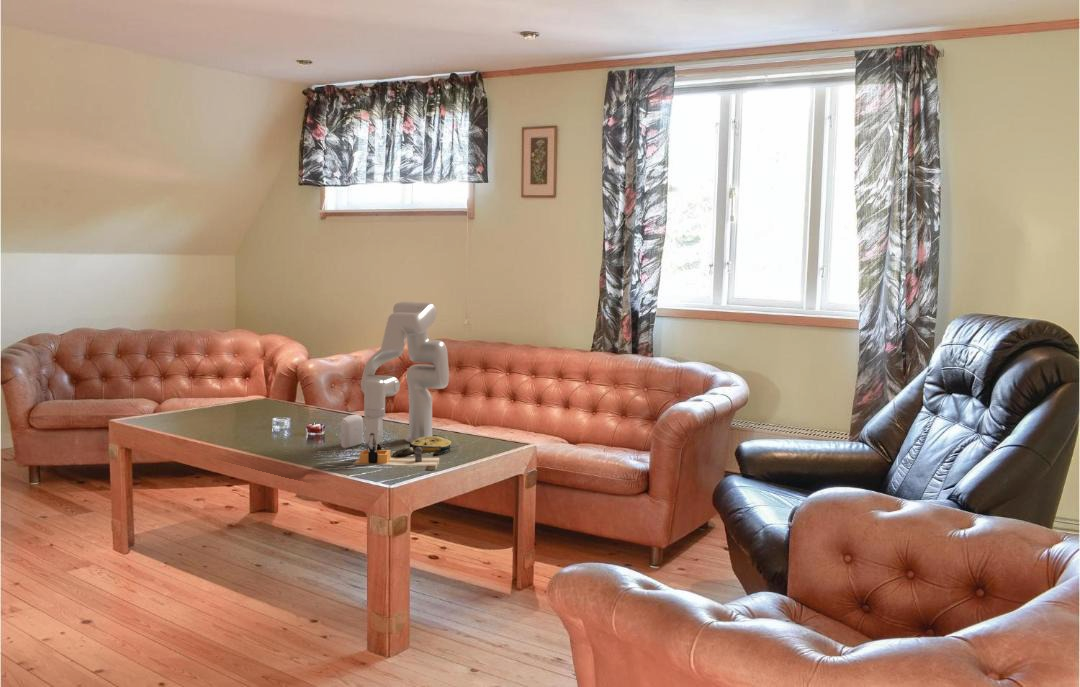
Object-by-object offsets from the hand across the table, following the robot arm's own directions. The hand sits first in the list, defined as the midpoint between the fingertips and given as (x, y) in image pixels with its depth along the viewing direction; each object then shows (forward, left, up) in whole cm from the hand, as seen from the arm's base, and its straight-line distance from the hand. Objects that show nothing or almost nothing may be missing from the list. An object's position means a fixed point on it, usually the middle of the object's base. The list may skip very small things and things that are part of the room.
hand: (375, 459), depth 325 cm
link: (0, 0, 0) cm, 0 cm away
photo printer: (-30, -15, -2) cm, 34 cm away
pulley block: (-18, +15, -2) cm, 23 cm away
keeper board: (0, +8, -2) cm, 8 cm away
